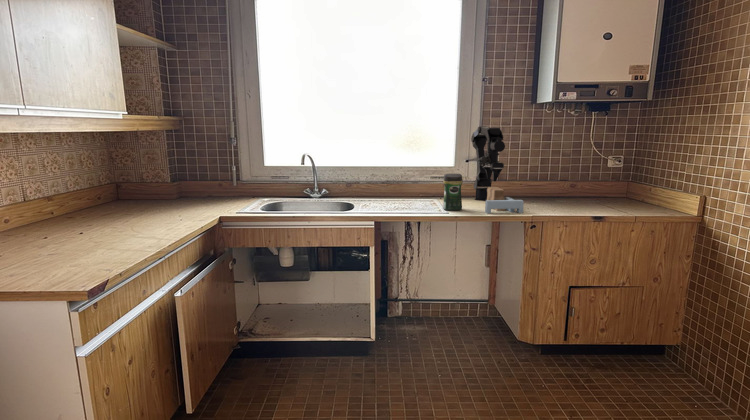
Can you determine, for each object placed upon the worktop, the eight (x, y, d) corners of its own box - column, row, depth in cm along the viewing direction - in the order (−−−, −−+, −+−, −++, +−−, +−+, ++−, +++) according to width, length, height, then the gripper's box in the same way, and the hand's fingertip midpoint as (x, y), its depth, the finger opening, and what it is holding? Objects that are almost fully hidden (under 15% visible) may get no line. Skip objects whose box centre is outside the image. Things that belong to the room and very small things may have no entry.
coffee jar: (459, 208, 229) (461, 172, 226) (463, 211, 222) (464, 174, 218) (441, 208, 229) (442, 172, 226) (444, 211, 221) (445, 174, 218)
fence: (479, 208, 227) (480, 197, 226) (514, 208, 228) (514, 196, 227) (486, 213, 215) (487, 201, 214) (522, 212, 216) (523, 200, 215)
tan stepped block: (486, 205, 237) (487, 186, 235) (495, 205, 237) (496, 186, 235) (496, 211, 221) (497, 191, 219) (505, 210, 221) (507, 191, 219)
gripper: (472, 151, 243) (471, 179, 245) (483, 152, 224) (482, 182, 227) (492, 150, 243) (491, 178, 246) (504, 151, 225) (503, 182, 228)
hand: (491, 180), depth 237 cm, fingers open, 9 cm apart
